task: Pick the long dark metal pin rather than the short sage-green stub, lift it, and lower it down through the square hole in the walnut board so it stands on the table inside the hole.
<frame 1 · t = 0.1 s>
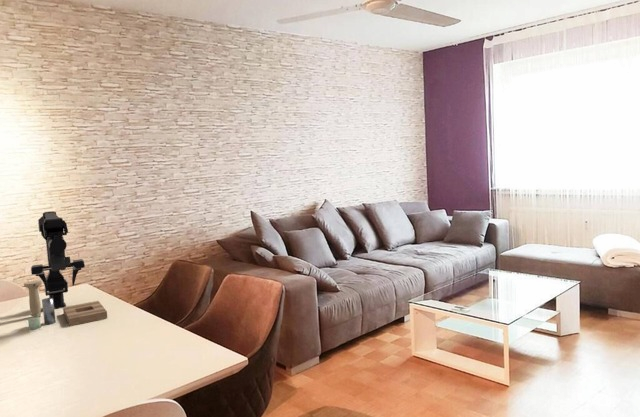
hand: (60, 287, 195), 15 cm above the table, tool pointing down, fingers open, 9 cm apart
short pin: (34, 328, 191), on the table
handle: (36, 317, 206), on the table
board: (85, 316, 204), on the table
long pin: (50, 323, 196), on the table
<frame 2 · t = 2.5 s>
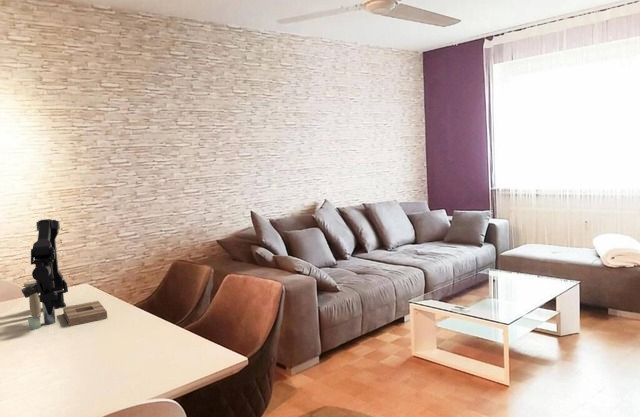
hand: (49, 313, 196), 4 cm above the table, tool pointing down, fingers closed on long pin, 4 cm apart
long pin: (50, 323, 196), on the table, touching gripper
everything else where it was.
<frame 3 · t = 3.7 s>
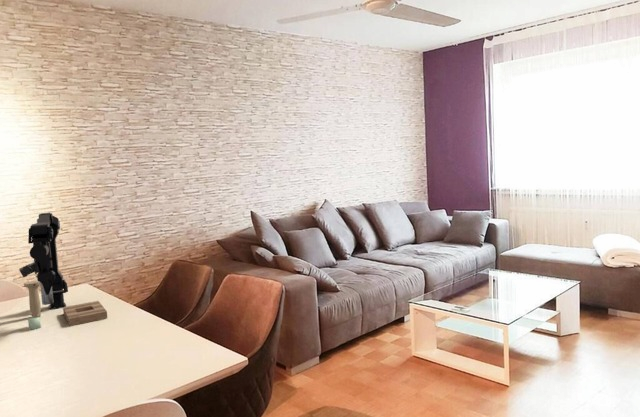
hand: (46, 293, 195), 12 cm above the table, tool pointing down, fingers closed on long pin, 4 cm apart
long pin: (47, 303, 196), point 8 cm above the table, touching gripper
everything else where it was.
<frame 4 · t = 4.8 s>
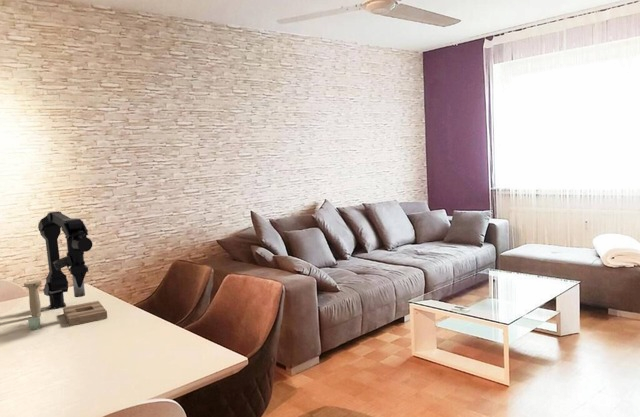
hand: (78, 286, 202), 13 cm above the table, tool pointing down, fingers closed on long pin, 4 cm apart
long pin: (79, 295, 202), point 9 cm above the table, touching gripper
everything else where it was.
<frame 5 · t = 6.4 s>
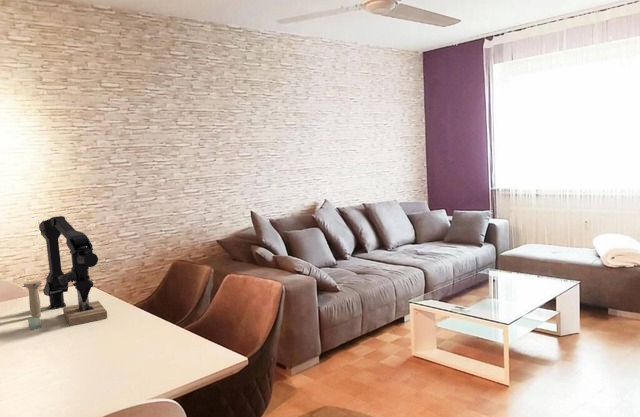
hand: (83, 301, 203), 7 cm above the table, tool pointing down, fingers closed on long pin, 4 cm apart
long pin: (84, 310, 203), point 3 cm above the table, touching gripper
everything else where it was.
when the fingers open (5 cm above the table, at t = 7.6 s): long pin stays where it is, resting in board.
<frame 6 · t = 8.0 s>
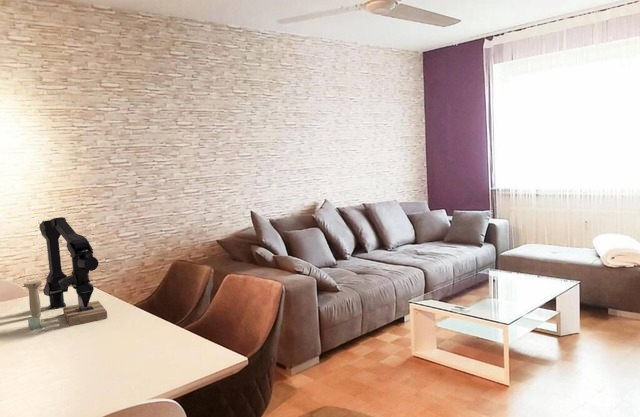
hand: (83, 304, 203), 5 cm above the table, tool pointing down, fingers open, 9 cm apart
long pin: (85, 316, 204), resting in board
everything else where it was.
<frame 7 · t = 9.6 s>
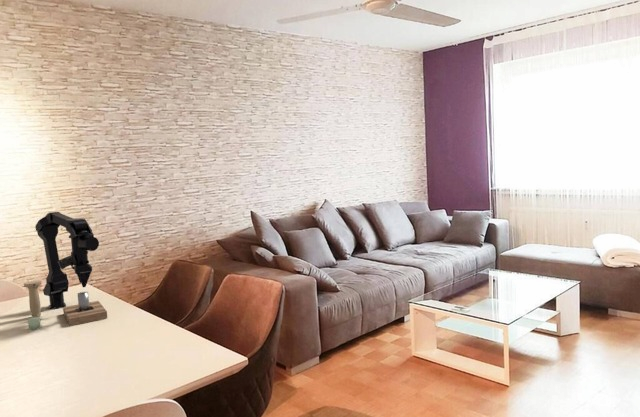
hand: (82, 284, 206), 13 cm above the table, tool pointing down, fingers open, 9 cm apart
nothing on the table moved.
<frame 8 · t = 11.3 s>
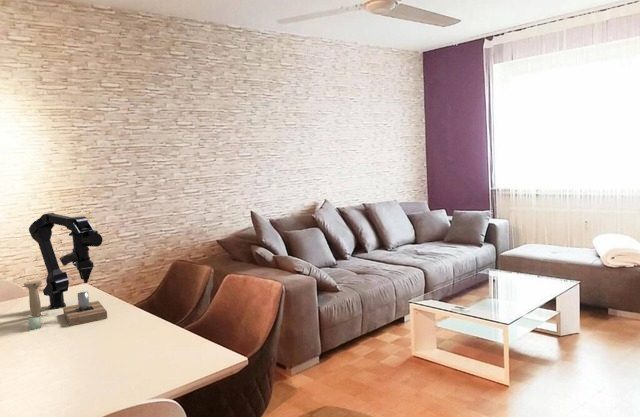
hand: (84, 281, 211), 13 cm above the table, tool pointing down, fingers open, 9 cm apart
nothing on the table moved.
at the end: long pin 0.1 cm off-centre on the board, point 0.0 cm above the board's base; long pin tilted 0°; short pin moved 0.1 cm from its start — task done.
